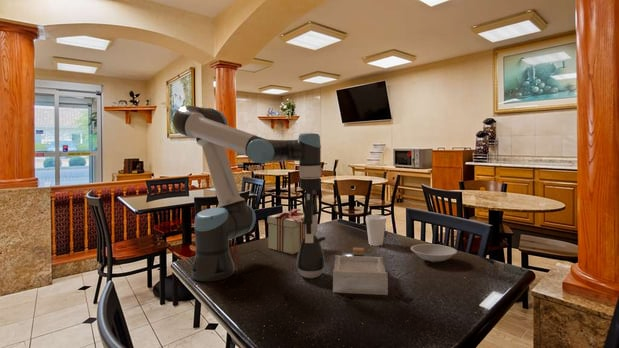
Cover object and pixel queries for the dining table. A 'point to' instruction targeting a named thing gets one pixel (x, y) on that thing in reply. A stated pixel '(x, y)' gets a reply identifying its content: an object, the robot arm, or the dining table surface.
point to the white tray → (359, 273)
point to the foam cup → (375, 229)
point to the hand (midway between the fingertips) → (311, 237)
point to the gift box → (286, 231)
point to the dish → (433, 252)
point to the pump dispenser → (311, 258)
